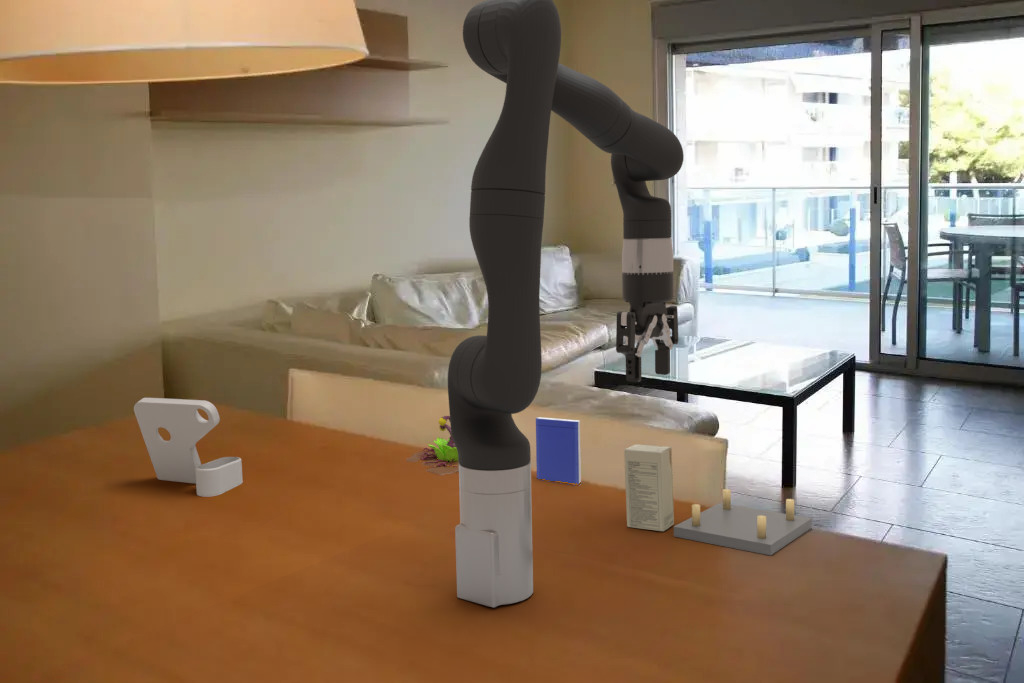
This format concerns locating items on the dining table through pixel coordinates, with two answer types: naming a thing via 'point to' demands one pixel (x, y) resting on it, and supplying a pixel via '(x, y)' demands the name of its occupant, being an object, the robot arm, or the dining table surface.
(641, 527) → the skincare box
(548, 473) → the hard drive
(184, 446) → the phone holder
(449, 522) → the dining table surface
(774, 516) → the standoff plate
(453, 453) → the plant
